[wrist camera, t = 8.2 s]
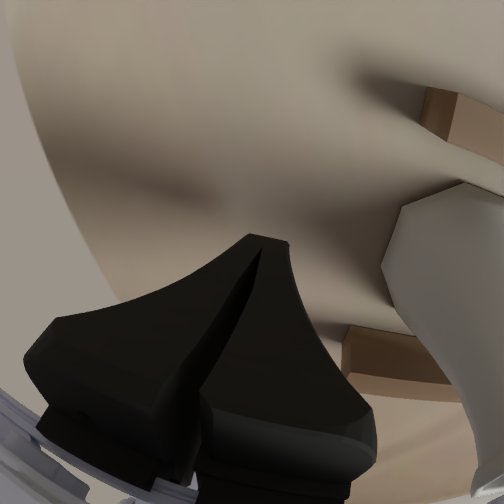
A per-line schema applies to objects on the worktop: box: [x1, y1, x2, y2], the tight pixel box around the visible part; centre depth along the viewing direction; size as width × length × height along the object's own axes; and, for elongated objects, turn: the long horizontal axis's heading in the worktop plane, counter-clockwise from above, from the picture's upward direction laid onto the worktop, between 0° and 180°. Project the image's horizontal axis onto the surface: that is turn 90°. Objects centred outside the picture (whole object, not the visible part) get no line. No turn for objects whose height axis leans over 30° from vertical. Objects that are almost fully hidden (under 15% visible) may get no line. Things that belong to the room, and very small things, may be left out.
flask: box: [381, 183, 504, 498], centre depth 8 cm, size 7×7×10 cm
